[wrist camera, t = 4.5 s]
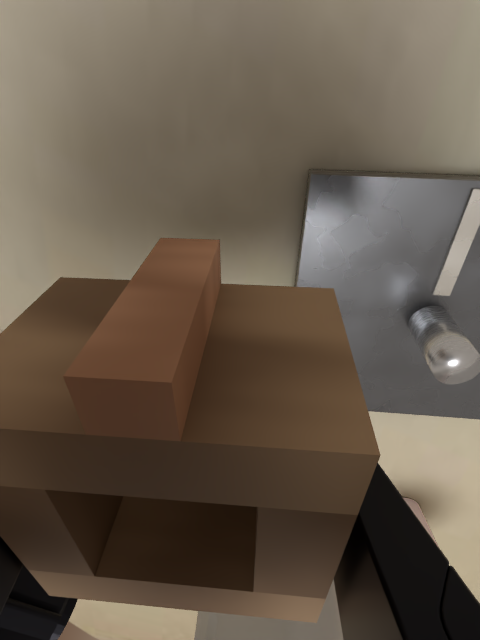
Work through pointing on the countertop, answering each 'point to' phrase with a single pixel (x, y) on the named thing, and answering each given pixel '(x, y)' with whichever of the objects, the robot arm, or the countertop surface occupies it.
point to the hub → (401, 283)
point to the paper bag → (271, 625)
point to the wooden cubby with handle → (183, 439)
